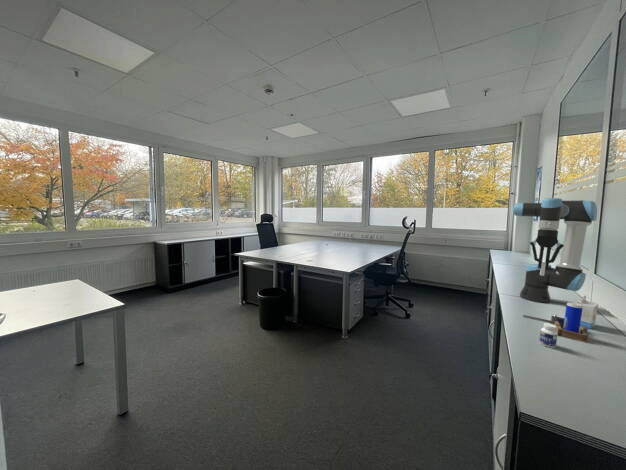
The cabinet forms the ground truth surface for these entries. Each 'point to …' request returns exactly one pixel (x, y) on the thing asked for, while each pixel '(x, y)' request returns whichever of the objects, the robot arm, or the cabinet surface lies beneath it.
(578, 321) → the beverage can
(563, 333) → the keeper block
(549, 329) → the pill bottle
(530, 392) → the cabinet surface
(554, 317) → the latch block with knob
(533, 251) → the robot arm
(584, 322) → the ink box
